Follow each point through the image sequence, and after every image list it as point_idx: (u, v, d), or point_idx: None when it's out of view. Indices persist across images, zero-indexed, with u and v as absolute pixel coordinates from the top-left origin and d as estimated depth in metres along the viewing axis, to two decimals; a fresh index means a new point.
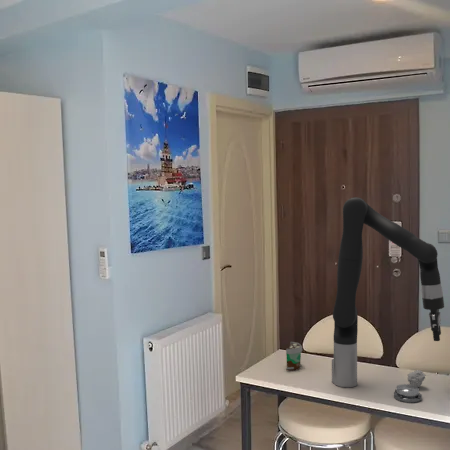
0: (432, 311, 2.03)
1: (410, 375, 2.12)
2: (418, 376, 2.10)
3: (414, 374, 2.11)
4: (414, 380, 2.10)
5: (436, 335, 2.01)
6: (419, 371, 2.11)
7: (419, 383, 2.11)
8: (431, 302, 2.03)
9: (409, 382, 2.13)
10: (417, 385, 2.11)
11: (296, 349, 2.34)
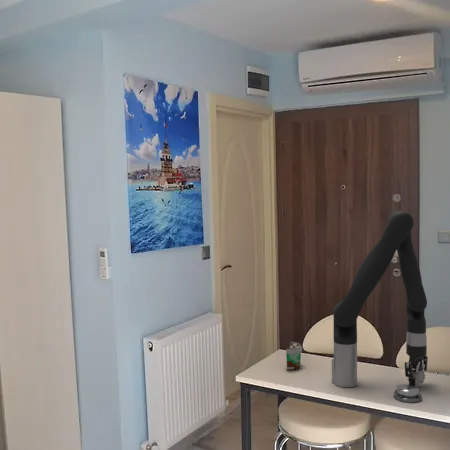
0: (410, 357, 2.10)
1: None
2: (418, 376, 2.10)
3: None
4: None
5: (411, 381, 2.10)
6: (419, 371, 2.11)
7: (419, 383, 2.11)
8: (410, 349, 2.10)
9: None
10: (417, 385, 2.11)
11: (296, 349, 2.34)
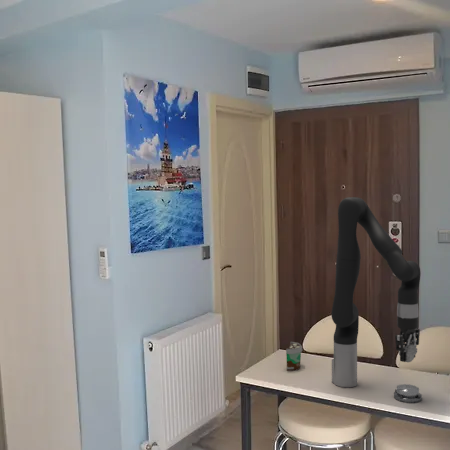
0: (401, 330, 1.99)
1: None
2: (410, 349, 1.99)
3: None
4: None
5: (402, 355, 1.99)
6: (411, 345, 2.00)
7: (411, 357, 2.00)
8: (401, 321, 1.98)
9: None
10: (409, 359, 2.00)
11: (296, 349, 2.34)
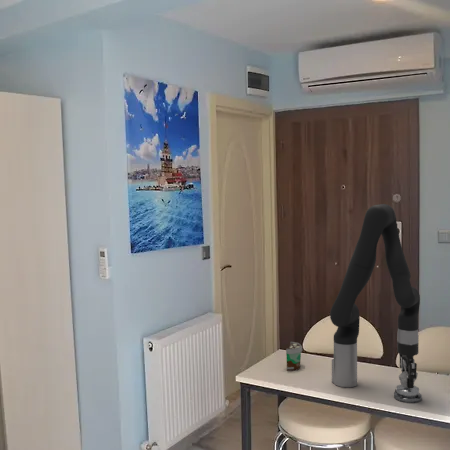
0: (409, 357, 1.98)
1: (405, 376, 2.00)
2: None
3: None
4: None
5: (411, 383, 1.98)
6: None
7: None
8: (410, 348, 1.98)
9: (404, 384, 2.00)
10: None
11: (296, 349, 2.34)
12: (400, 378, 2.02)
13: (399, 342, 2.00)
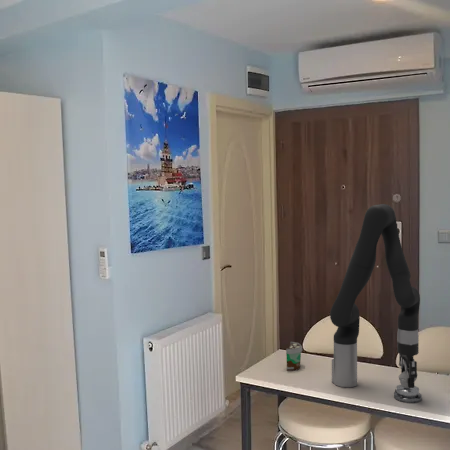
0: (409, 357, 1.98)
1: (405, 376, 2.00)
2: None
3: None
4: None
5: (412, 382, 1.97)
6: None
7: None
8: (410, 348, 1.98)
9: (404, 384, 2.00)
10: None
11: (296, 349, 2.34)
12: (400, 378, 2.02)
13: (399, 342, 2.00)
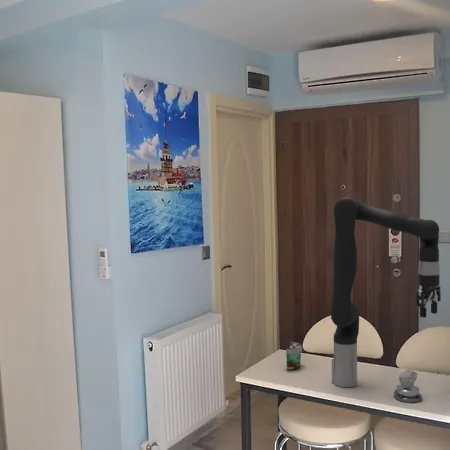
0: (423, 287, 2.02)
1: (405, 376, 2.00)
2: (414, 375, 2.00)
3: (409, 374, 2.00)
4: (412, 380, 1.99)
5: (422, 311, 2.01)
6: (411, 370, 2.02)
7: (413, 382, 2.01)
8: (423, 278, 2.02)
9: (404, 384, 2.00)
10: (412, 385, 2.01)
11: (296, 349, 2.34)
12: (400, 378, 2.02)
13: None
